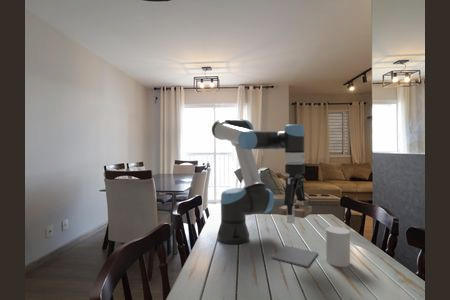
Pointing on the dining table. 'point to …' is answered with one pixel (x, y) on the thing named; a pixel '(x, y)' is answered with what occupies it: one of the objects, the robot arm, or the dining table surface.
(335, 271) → the dining table surface
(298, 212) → the lid
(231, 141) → the robot arm
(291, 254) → the mat
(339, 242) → the cup
